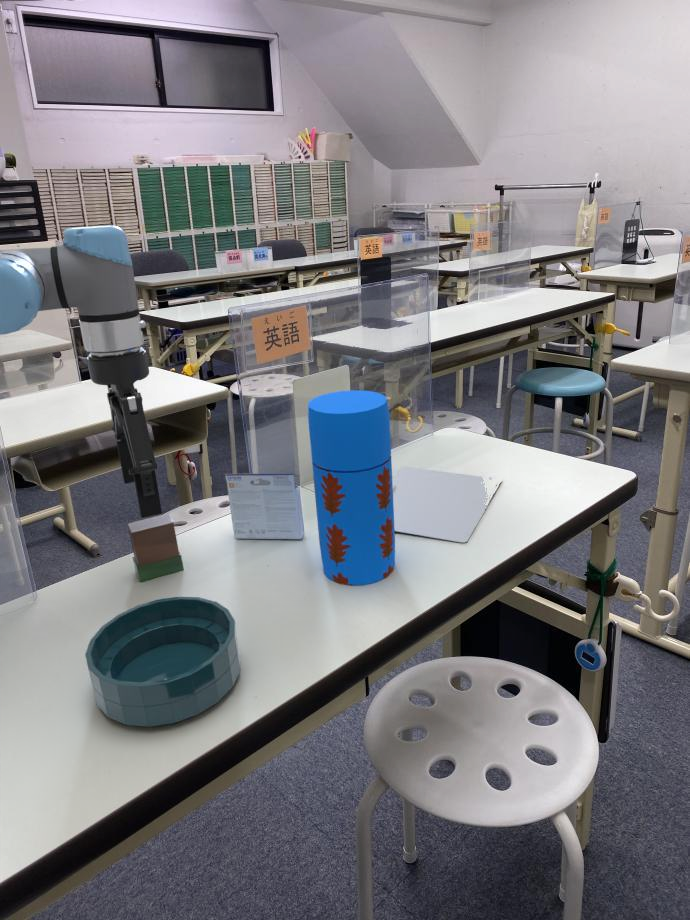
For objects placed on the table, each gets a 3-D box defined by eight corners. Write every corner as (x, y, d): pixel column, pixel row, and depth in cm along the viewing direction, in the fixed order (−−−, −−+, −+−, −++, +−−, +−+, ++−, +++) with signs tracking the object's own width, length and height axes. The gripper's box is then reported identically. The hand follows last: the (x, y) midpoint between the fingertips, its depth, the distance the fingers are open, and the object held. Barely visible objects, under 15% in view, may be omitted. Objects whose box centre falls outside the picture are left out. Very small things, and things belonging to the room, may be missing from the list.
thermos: (370, 593, 93) (360, 418, 83) (307, 574, 98) (290, 408, 89) (409, 557, 101) (402, 394, 92) (348, 541, 107) (336, 386, 97)
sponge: (135, 571, 103) (125, 523, 100) (178, 559, 105) (169, 512, 102) (139, 582, 100) (129, 533, 97) (183, 569, 102) (175, 521, 99)
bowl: (89, 664, 82) (78, 622, 80) (218, 622, 89) (212, 583, 86) (108, 754, 69) (96, 706, 67) (260, 697, 75) (254, 652, 73)
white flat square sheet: (383, 466, 134) (383, 461, 134) (503, 482, 124) (503, 476, 124) (327, 522, 113) (326, 516, 113) (465, 546, 104) (466, 539, 103)
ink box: (305, 533, 110) (299, 467, 106) (302, 541, 108) (295, 473, 104) (237, 532, 112) (228, 467, 108) (232, 539, 110) (223, 473, 106)
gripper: (164, 363, 81) (189, 524, 89) (128, 332, 102) (151, 464, 110) (98, 373, 78) (130, 538, 86) (76, 339, 99) (102, 474, 107)
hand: (142, 497), depth 98 cm, fingers open, 13 cm apart
